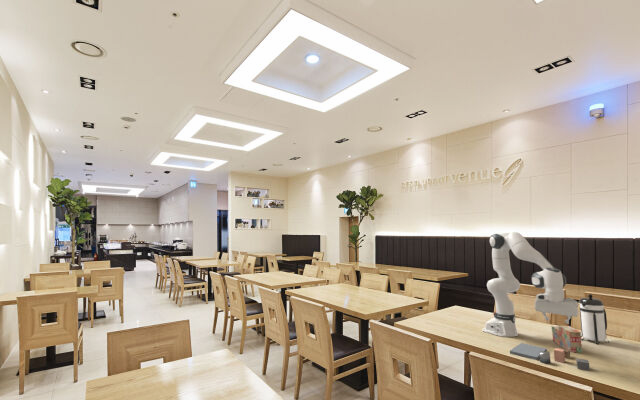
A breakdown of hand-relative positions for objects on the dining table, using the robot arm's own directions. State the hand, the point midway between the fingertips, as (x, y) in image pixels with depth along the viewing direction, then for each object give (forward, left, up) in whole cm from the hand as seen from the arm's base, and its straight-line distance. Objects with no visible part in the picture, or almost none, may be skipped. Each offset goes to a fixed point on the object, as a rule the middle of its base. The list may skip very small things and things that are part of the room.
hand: (556, 321), depth 187 cm
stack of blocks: (-3, +30, -22) cm, 37 cm away
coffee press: (+7, +55, -21) cm, 59 cm away
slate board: (-16, +2, -21) cm, 27 cm away
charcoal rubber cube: (+11, -3, -21) cm, 24 cm away
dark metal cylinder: (-5, -8, -21) cm, 23 cm away
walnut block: (0, +9, -21) cm, 23 cm away
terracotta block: (0, 0, -21) cm, 21 cm away
